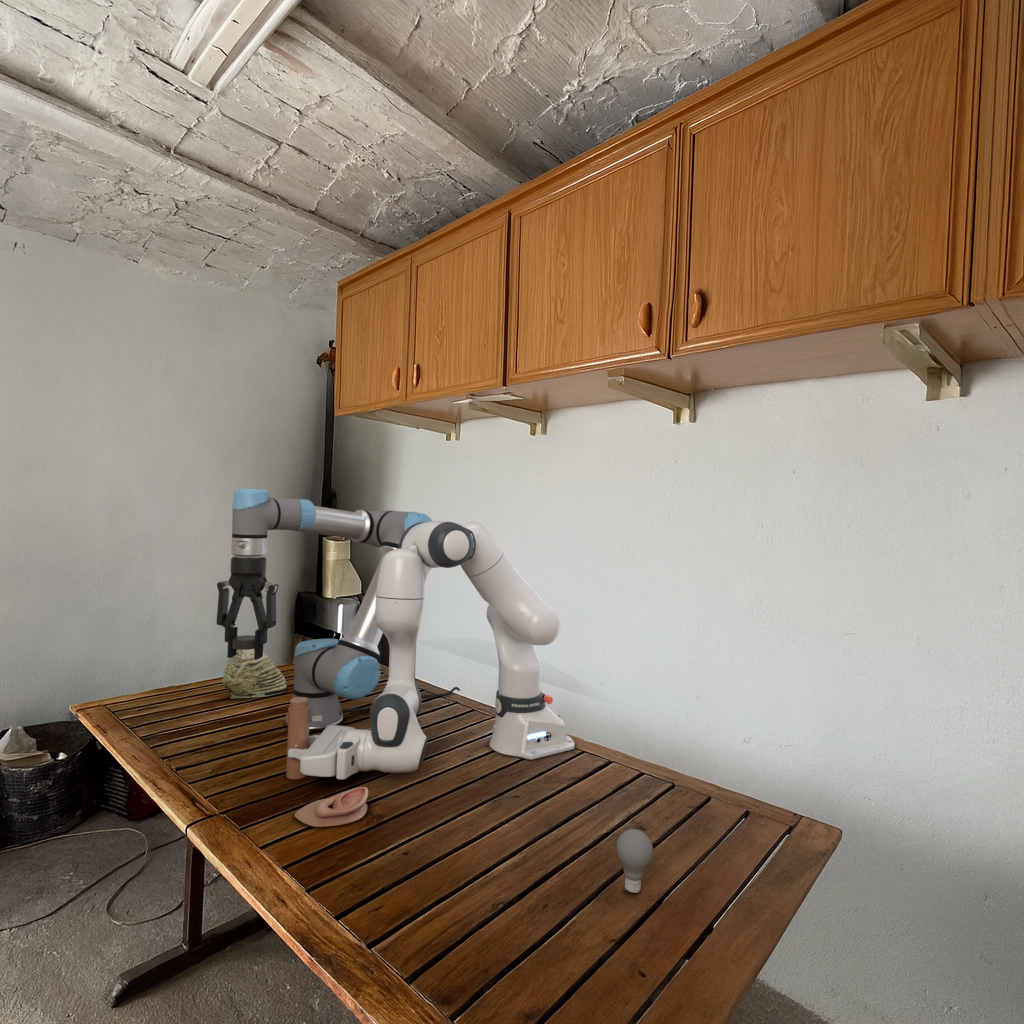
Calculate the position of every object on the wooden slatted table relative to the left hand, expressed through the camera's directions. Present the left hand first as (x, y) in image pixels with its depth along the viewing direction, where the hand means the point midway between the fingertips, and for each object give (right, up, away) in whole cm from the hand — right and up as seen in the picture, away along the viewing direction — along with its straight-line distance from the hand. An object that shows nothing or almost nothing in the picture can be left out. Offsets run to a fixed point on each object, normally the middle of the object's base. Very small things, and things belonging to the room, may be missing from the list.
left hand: (245, 657), depth 145 cm
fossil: (-19, -24, +53) cm, 61 cm away
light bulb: (+81, -30, -39) cm, 95 cm away
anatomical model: (+25, -27, -18) cm, 41 cm away
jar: (+12, -26, -1) cm, 29 cm away
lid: (0, +4, 0) cm, 4 cm away
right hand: (+12, -20, -2) cm, 23 cm away
